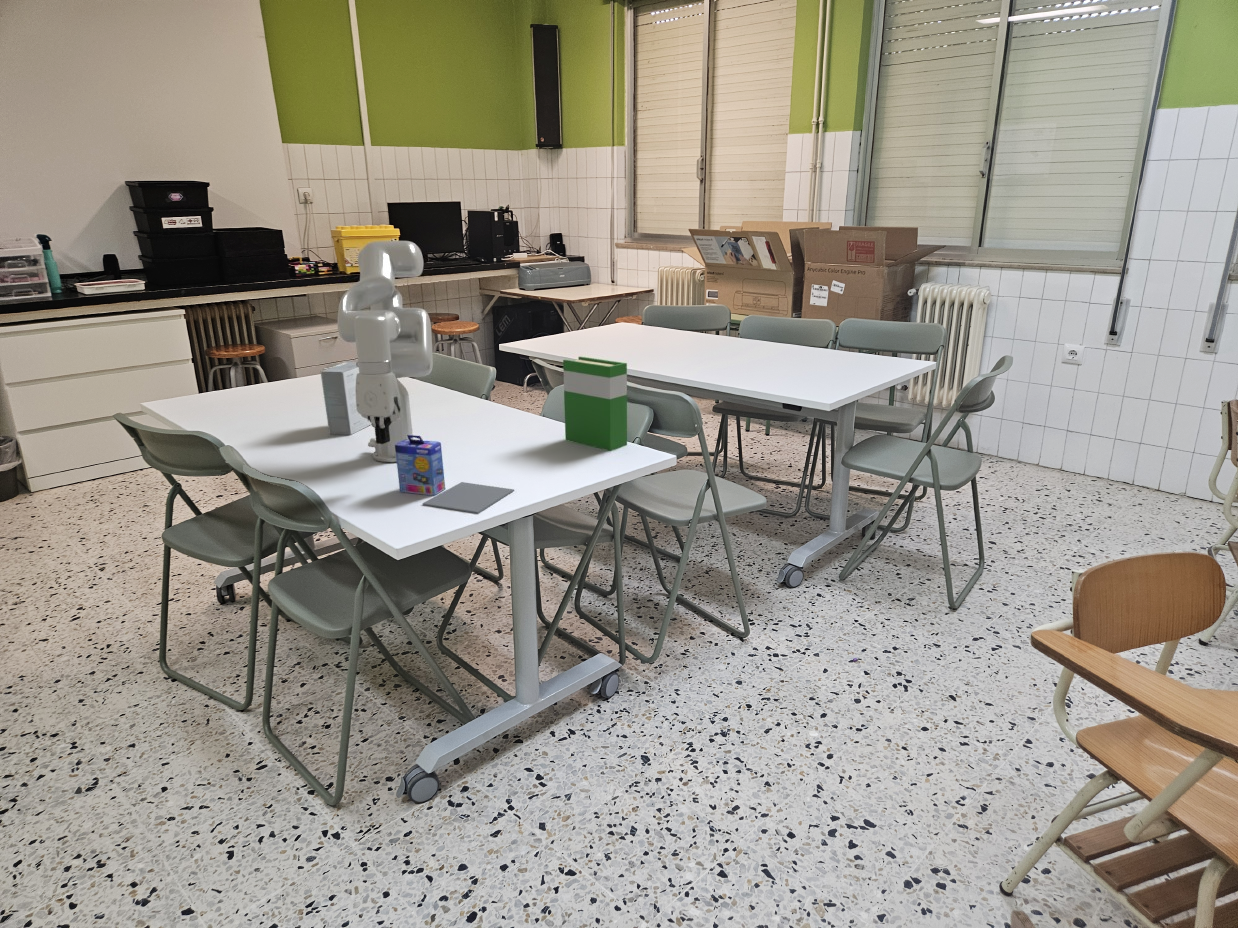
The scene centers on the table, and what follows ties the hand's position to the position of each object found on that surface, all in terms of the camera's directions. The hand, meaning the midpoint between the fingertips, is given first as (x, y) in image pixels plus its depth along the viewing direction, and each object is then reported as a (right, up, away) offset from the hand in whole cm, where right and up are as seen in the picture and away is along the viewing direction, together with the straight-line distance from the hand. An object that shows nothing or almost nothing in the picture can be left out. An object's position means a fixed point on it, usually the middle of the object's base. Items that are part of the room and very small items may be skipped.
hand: (383, 442), depth 185 cm
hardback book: (+51, +1, +39) cm, 64 cm away
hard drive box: (-27, +6, +56) cm, 62 cm away
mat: (+22, -13, -5) cm, 26 cm away
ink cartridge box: (+9, -12, 0) cm, 15 cm away
